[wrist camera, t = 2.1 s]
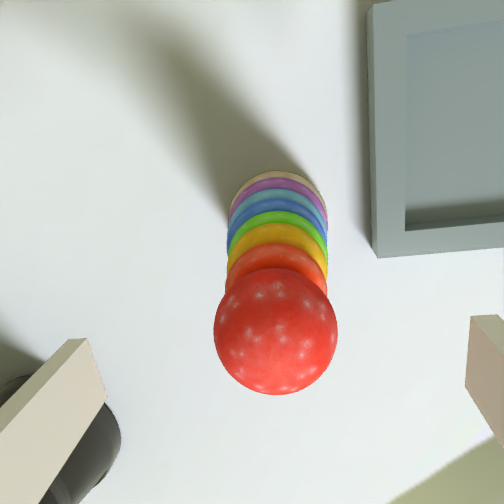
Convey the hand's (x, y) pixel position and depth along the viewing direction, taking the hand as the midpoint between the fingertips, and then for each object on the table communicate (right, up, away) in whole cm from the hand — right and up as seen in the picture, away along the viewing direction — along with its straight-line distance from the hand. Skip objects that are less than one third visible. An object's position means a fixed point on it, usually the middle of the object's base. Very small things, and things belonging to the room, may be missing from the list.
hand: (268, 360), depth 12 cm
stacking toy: (+2, +7, +18) cm, 19 cm away
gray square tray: (+17, +13, +13) cm, 25 cm away
